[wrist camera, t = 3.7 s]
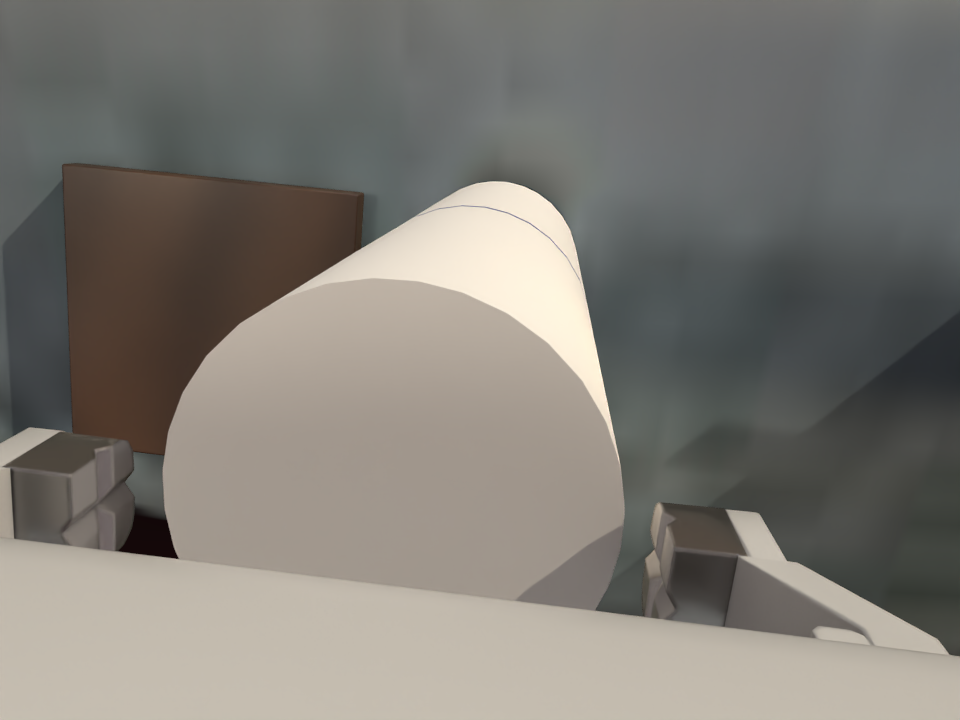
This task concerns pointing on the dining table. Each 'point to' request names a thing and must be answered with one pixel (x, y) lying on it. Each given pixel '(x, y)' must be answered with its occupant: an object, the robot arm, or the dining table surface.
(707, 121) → the dining table surface
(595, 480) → the cylindrical container
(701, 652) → the robot arm
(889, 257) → the dining table surface
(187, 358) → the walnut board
